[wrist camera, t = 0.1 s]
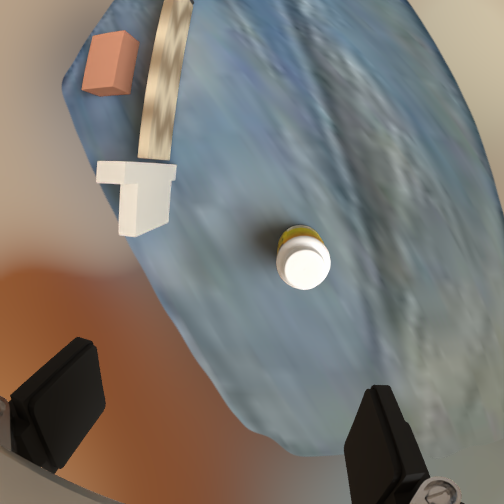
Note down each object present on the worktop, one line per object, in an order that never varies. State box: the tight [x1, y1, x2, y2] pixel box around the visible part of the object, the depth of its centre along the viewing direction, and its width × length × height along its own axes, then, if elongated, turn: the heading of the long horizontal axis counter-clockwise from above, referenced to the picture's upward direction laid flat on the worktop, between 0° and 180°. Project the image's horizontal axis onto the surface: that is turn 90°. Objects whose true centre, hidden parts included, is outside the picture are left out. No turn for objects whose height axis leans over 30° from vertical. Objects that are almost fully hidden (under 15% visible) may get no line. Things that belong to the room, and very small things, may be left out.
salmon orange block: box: [81, 30, 140, 96], centre depth 34 cm, size 8×5×5 cm, turn 174°
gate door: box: [138, 0, 194, 160], centre depth 32 cm, size 24×1×7 cm, turn 174°
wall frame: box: [96, 161, 177, 237], centre depth 29 cm, size 40×3×14 cm, turn 174°
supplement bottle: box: [276, 225, 330, 290], centre depth 35 cm, size 6×6×10 cm
